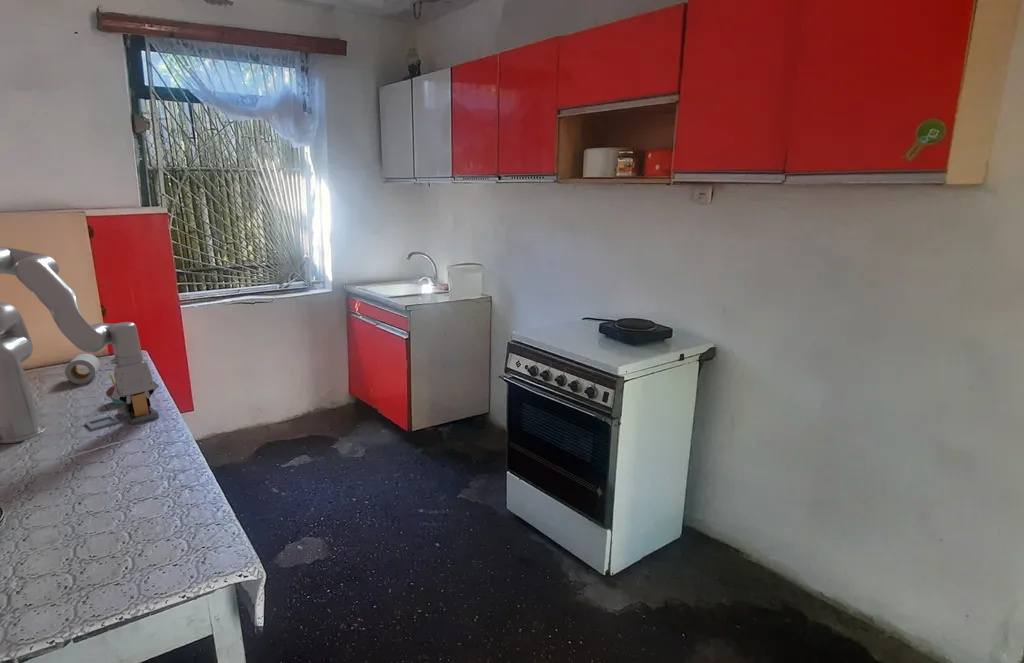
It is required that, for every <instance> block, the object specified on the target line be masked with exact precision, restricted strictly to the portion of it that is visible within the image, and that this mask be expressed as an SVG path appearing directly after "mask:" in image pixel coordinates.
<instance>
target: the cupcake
mask: <svg viewBox="0 0 1024 663" xmlns="http://www.w3.org/2000/svg"><path fill="white" fill-rule="evenodd" d="M108 374H109V378H110V381H111V382H112V384H113V385H112V386H110V387H108V388H107V390H106V391H105V394H106V397H108V398H109V399H110V400H111V401H112V403H113V404H114V405H122V404H123V405H124V402H123V401H121V400H117V399H114V398H112V394H113V392H114V390H115V388H116V385H115V378H114V377H113V375H112V374H111V373H108ZM118 395H119V396H121V395H120V394H118Z"/></svg>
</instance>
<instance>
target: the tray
mask: <svg viewBox="0 0 1024 663" xmlns="http://www.w3.org/2000/svg"><path fill="white" fill-rule="evenodd" d="M117 424H121V421H120V419H118V418H117V417H116V416H115V415H114V414H110V415H107V416H102V417H99V418H96V419H91V420H89V421H85V422H84V425H86V427H87V428H88V429H89V430H90V431H96V430H99V429H102V428H106V427H110V426H113V425H117Z"/></svg>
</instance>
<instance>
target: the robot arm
mask: <svg viewBox="0 0 1024 663" xmlns="http://www.w3.org/2000/svg"><path fill="white" fill-rule="evenodd" d="M59 272H60V268H59V264H58V262H57V261H56V260H55V259H54V258H52V257H50V256H49V255H47V254H43V253H38V252H33V251H29V250H23V249H18V248H13V247H9V246H2V245H0V275H2V274H6V275H11V276H12V275H13V276H15V277H16V278H17V280H18V281H19V282H20V283H21V284H23V286H24V287H25V288H26V289H27V290H28V291H30V293H32V295H33V296H35V297H36V299H37V300H39V302H40V303H41V304H43V305H44V307H46V309H47V310H48V311H49V312H50V314H51V317H52V319H53V322H55V324H56V327H57V328H58V330H59V331H60V332H61V333H62V334H63V335H64V336H65V338H67V339H68V341H69V342H70V343H71V344H73V346H74V347H76V348H77V349H79V350H80V351H82V352H84V353H87V354H94V353H98V352H100V351H101V350H102V349H104V348H105V347H106V346H109V345H112V350H113V355H114V358H113V359H110V360H109V361H110V364H111V365H112V364H113V365H114V369H113V371H114V382H115V385H116V388H115V390H114V392H113V394H112V398H114V399H117V400H121V401H123V402H125V403H126V405H127V410H128V412H130V413H131V414H134V409H133V404H132V403H131V395H133V394H137V393H141V392H144V393H145V396H146V401H147V406H148V410H150V408H149V407H151V400H150V399H151V396H152V395H153V393H154V392H155V391H156V390H157V389H158V388H160V386H159V384H157V383H156V381H154V379H153V376H152V373H151V369H150V367H149V364H148V362H147V361H146V360H144V357H143V353H142V347H141V342H140V337H139V333H138V328H137V325H136V323H134V322H131V321H125V322H124V321H123V322H117V323H108V322H107V323H106V322H103V323H101V322H100V323H99V322H98V323H94V324H89V323H88V321H87V320H86V319H85V318H84V317H83V315H82V314H81V312H80V309H79V307H78V297H77V294H76V292H75V291H74V290H73V289H72V288H71V287H70V286H69V285H68V284H67V283H65V281H64V280H63V279H62V278H61V277H60V276H59V275H58V274H59ZM33 351H34V346H33V340H32V338H31V336H30V334H29V331H28V328H27V326H26V323H25V321H24V318H23V316H22V313H21V312H20V311H19V310H18V308H16V307H15V306H13V305H12V304H11V303H7V302H3V301H0V444H14V443H20V442H24V441H25V440H26V441H27V440H29V439H33V438H35V437H38V436H40V435H42V434H44V433H45V432H46V431H47V430H48V427H47V425H45V424H41V423H40V421H39V418H38V413H37V410H36V405H35V403H34V401H35V400H34V398H33V394H32V391H31V386H30V382H29V379H28V377H27V374H26V372H25V371H24V369H23V367H22V365H21V364H22V363H23V362H25V361H26V360H28V359H29V358H30V357H31V355H32V354H33ZM118 394H120V395H121V396H119V395H118ZM123 396H124V397H123Z"/></svg>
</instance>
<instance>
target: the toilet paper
mask: <svg viewBox="0 0 1024 663" xmlns="http://www.w3.org/2000/svg"><path fill="white" fill-rule="evenodd" d="M80 365H81V366H85V368H87V369H88V371H82V370H80V369H79V368H78V366H80ZM100 369H101V362H100V360H99V358H98V357H96V355H94V354H92V353H80V354H77V355H75V356H74V357H73V358H72V360H70V362H69V363H68V364H67V365H66V366H65V369H64V375H65V377H66V379H67V380H69V381H70V382H71V383H74V384H76V385H83V384H87V383H89V382H91V381H92V380H93V379H94V378H95V376H96V375H97V374H98V372H99V370H100Z"/></svg>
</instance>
